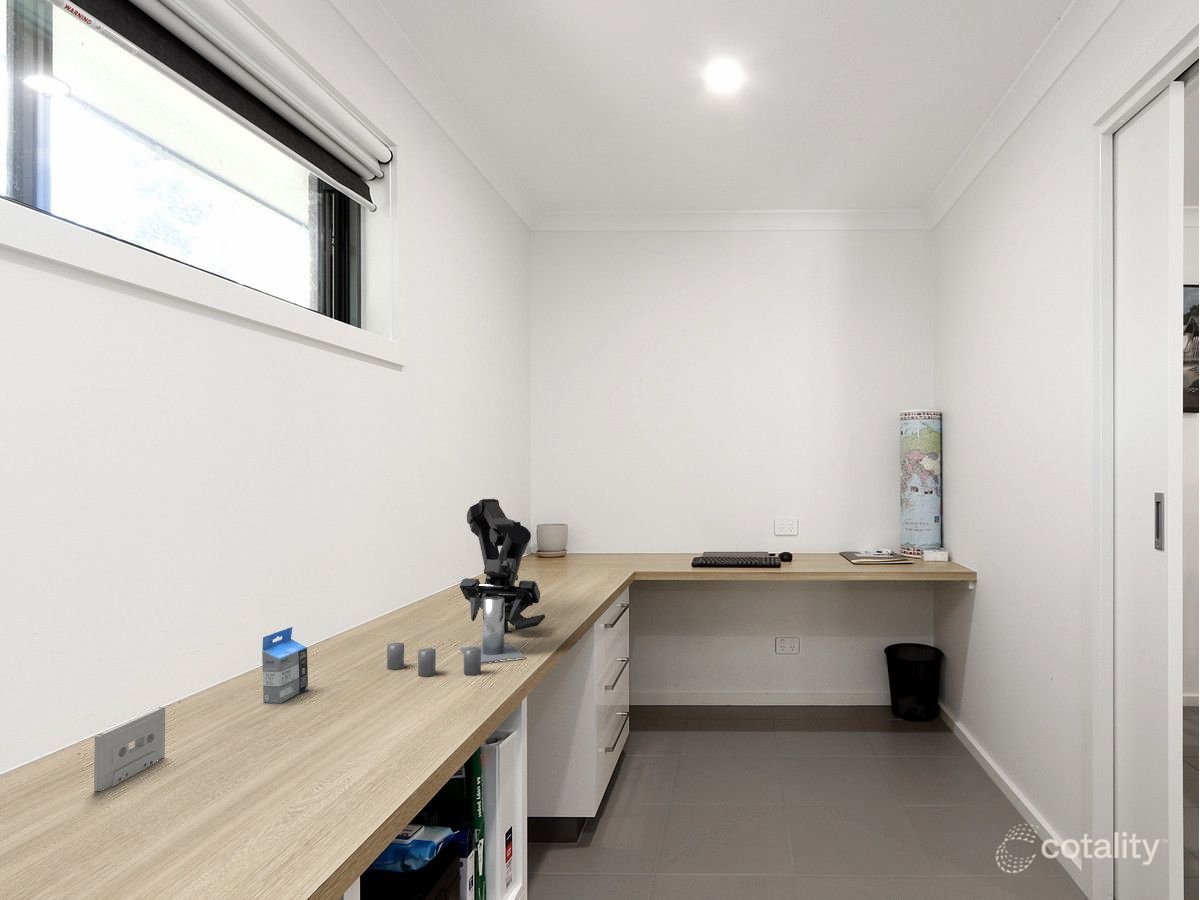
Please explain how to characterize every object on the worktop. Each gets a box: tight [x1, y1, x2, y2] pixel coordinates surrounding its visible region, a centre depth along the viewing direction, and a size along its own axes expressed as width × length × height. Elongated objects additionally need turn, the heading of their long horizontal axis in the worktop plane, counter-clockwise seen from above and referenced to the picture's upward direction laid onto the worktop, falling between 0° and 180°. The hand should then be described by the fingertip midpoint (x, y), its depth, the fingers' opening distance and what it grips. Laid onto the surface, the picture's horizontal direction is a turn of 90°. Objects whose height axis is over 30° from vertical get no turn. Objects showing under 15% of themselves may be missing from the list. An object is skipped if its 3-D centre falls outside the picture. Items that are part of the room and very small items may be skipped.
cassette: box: [93, 706, 166, 792], centre depth 104 cm, size 12×2×8 cm, turn 171°
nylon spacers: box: [386, 642, 482, 678], centre depth 154 cm, size 7×22×5 cm, turn 77°
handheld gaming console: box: [504, 608, 546, 631], centre depth 189 cm, size 11×10×4 cm
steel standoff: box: [482, 596, 505, 655], centre depth 169 cm, size 5×5×12 cm
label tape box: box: [261, 626, 309, 704], centre depth 139 cm, size 9×4×12 cm, turn 168°
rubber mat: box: [459, 642, 526, 665], centre depth 168 cm, size 14×12×1 cm
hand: (491, 620), depth 167 cm, fingers open, 9 cm apart
